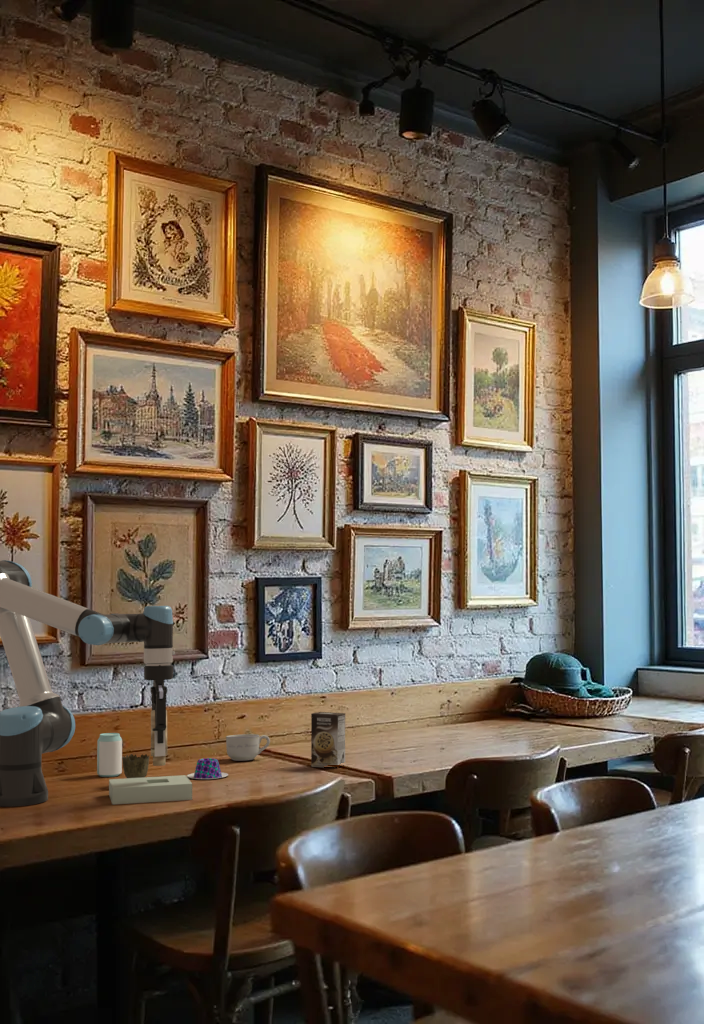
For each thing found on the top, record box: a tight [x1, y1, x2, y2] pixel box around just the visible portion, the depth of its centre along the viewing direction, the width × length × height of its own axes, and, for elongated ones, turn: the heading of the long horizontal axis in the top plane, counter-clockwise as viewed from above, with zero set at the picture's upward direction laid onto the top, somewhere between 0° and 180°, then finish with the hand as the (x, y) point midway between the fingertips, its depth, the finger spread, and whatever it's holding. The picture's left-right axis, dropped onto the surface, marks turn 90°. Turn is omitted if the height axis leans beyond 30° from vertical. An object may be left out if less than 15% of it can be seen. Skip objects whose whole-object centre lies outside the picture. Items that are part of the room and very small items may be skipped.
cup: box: [122, 753, 150, 778], centre depth 295 cm, size 8×7×8 cm
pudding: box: [186, 757, 229, 780], centre depth 307 cm, size 12×12×5 cm
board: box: [108, 774, 193, 805], centre depth 276 cm, size 20×14×4 cm
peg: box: [150, 709, 168, 767], centre depth 277 cm, size 4×4×14 cm
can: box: [96, 732, 123, 778], centre depth 311 cm, size 7×7×12 cm
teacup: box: [225, 733, 271, 762], centre depth 339 cm, size 14×11×8 cm
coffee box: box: [310, 711, 346, 768], centre depth 325 cm, size 9×6×16 cm
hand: (159, 754), depth 277 cm, fingers closed on peg, 4 cm apart
